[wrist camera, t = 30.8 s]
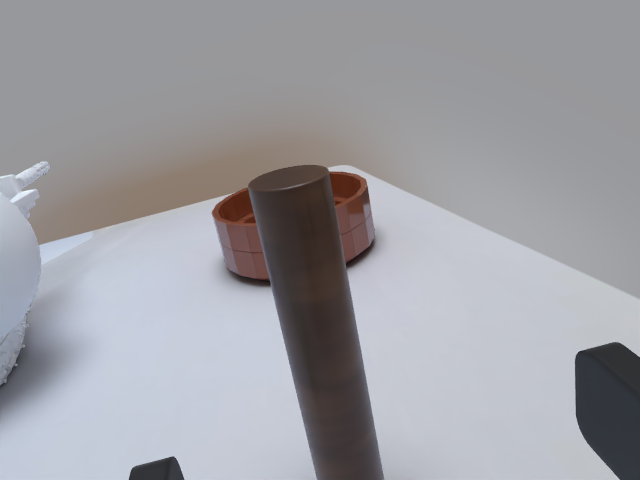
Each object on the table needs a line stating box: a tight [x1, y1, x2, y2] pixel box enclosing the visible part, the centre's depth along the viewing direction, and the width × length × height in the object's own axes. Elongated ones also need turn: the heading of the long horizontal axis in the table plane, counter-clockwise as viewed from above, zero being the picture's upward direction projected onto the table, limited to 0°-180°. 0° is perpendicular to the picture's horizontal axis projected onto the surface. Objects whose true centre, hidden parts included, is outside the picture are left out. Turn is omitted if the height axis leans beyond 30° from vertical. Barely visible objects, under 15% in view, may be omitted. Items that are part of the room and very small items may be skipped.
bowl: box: [212, 172, 375, 281], centre depth 55 cm, size 15×15×6 cm
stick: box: [248, 165, 384, 480], centre depth 23 cm, size 3×3×16 cm
